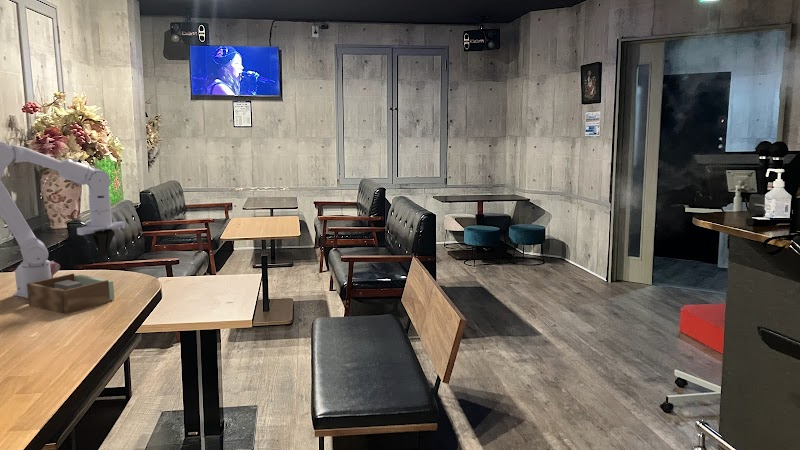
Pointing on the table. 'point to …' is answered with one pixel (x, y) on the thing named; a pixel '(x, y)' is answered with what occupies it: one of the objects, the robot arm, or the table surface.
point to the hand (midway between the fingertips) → (103, 255)
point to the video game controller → (54, 268)
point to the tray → (90, 280)
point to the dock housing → (66, 295)
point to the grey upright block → (67, 284)
